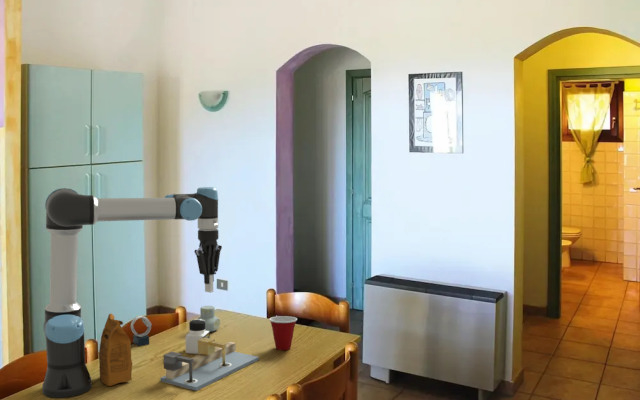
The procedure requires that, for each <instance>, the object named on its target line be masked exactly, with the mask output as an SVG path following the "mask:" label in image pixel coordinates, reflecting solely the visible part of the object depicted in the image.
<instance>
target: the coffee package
mask: <svg viewBox="0 0 640 400" xmlns="http://www.w3.org/2000/svg"><path fill="white" fill-rule="evenodd" d="M122 325H124V322H123V320H119V319H116V317H115V315H114V314H113V313H109V314H108V316H107V319H106V321H105V324H104V327H103V329H102V333H101V337H100V343H99V351H98V353H99V354H98V362H99V363H98V364H99V378H100V380H101V383H102V384H103V385H106V386H107V387H112V386H114V385H115V386H116V385H118V384H120V383H127V382H129V381H132V378H133V377H132V370H133V359H132V343H131V339H130V337H129V336H128V334H127V333H126V332H125V330H124V329H123V328H122Z"/></svg>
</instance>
